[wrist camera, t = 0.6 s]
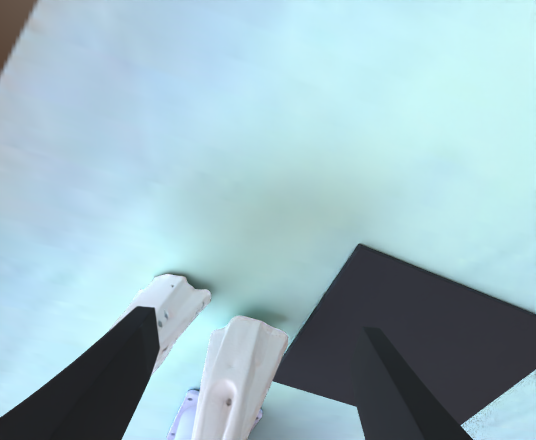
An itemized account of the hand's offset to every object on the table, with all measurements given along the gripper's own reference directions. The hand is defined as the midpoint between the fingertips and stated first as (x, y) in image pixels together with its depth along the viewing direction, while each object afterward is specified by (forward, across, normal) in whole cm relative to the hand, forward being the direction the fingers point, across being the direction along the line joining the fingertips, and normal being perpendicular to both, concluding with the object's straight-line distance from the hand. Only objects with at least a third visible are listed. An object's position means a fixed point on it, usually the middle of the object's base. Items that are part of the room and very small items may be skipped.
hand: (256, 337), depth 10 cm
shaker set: (+10, +4, +9) cm, 14 cm away
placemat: (+10, -14, +12) cm, 21 cm away
